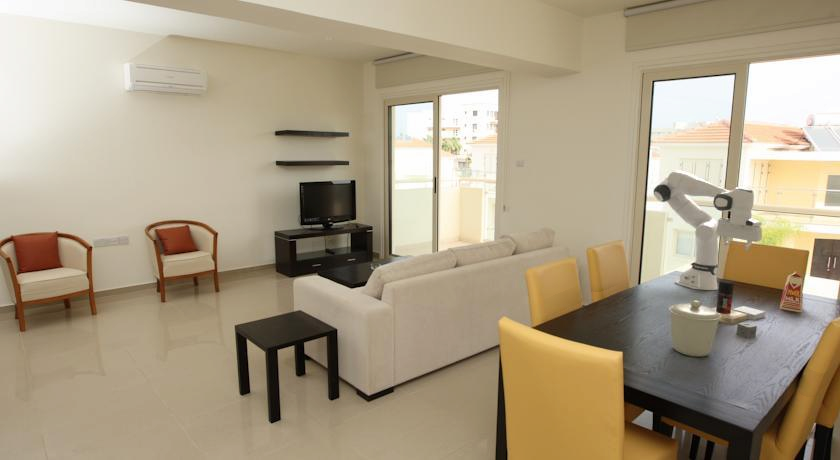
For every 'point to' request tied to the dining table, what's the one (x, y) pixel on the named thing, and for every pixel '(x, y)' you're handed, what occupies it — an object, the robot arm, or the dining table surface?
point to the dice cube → (746, 330)
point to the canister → (693, 328)
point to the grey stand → (751, 312)
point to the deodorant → (725, 297)
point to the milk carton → (792, 294)
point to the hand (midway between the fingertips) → (736, 247)
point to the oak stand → (732, 317)
